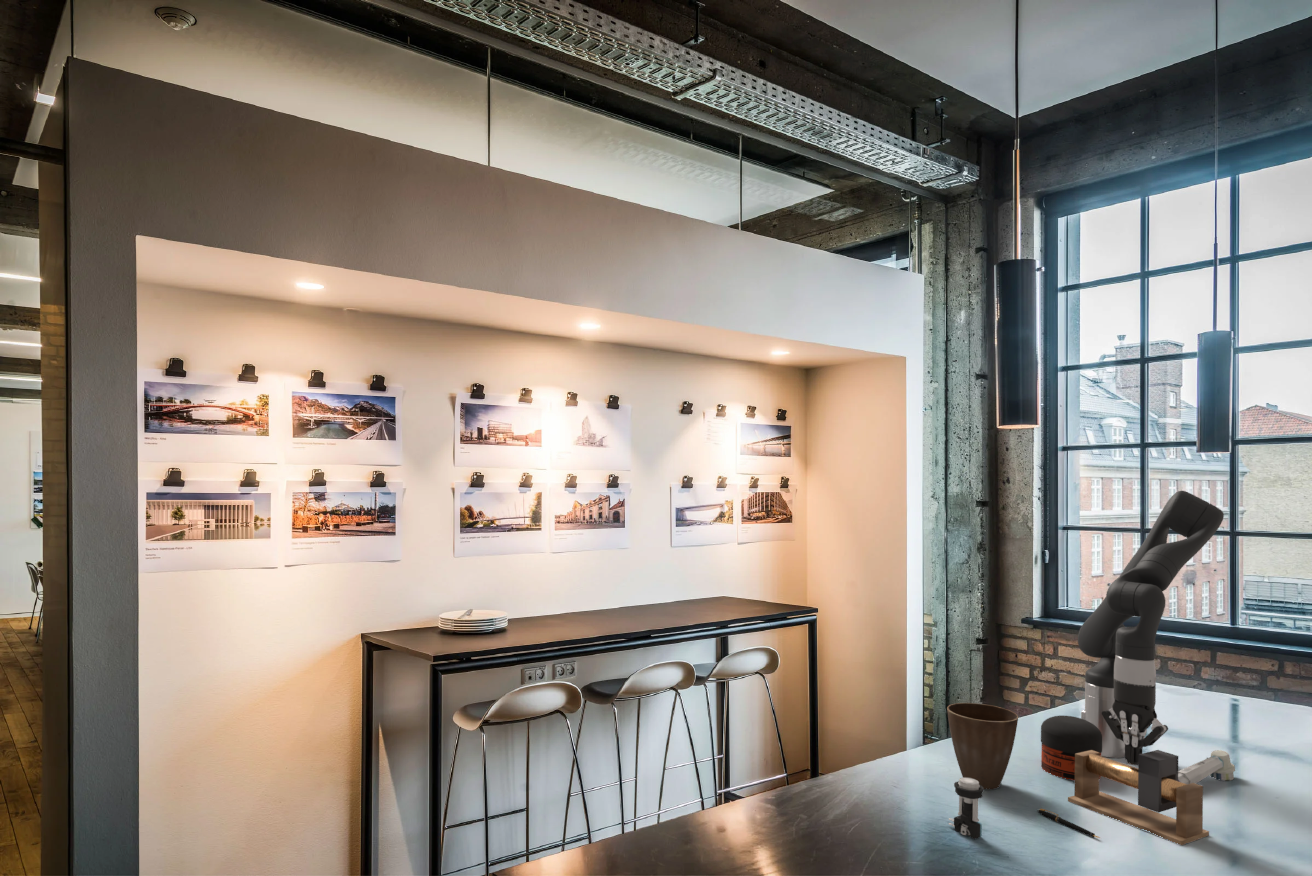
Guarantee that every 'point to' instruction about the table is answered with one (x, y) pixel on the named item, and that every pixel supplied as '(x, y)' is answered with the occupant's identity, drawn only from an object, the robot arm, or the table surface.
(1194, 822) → the stand
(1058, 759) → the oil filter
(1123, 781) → the pipe
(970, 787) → the push button
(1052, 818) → the fountain pen
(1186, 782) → the toothbrush head
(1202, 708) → the table surface
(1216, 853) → the table surface
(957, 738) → the plant pot
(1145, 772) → the collar
